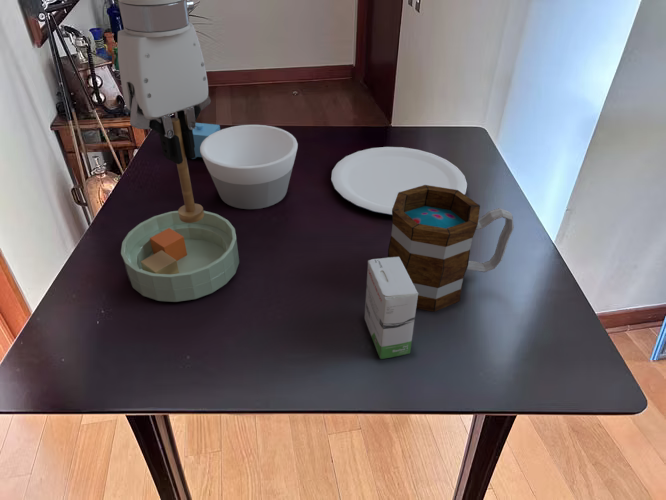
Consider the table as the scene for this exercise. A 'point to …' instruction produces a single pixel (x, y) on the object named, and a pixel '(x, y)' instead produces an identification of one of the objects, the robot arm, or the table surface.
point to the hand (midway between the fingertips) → (180, 157)
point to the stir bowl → (195, 268)
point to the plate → (391, 176)
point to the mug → (440, 241)
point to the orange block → (169, 244)
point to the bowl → (250, 164)
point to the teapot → (202, 135)
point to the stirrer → (186, 184)
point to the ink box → (390, 306)
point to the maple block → (160, 264)
